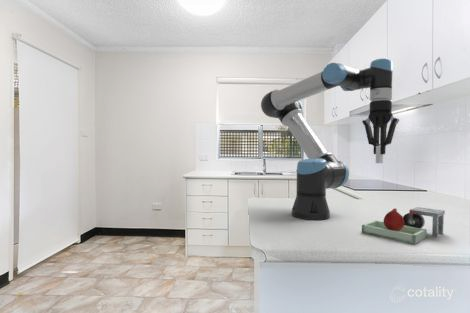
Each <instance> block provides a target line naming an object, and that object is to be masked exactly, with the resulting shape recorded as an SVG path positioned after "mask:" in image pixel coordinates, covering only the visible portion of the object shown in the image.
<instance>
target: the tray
mask: <svg viewBox="0 0 470 313" xmlns="http://www.w3.org/2000/svg"><path fill="white" fill-rule="evenodd" d="M361 233H362V234H367V235H372V236H376V237H381V238H385V239H388V240H393V241H399V242H402V243H408V244H413V245H416V244H418V243H420V242H422V241H424V240H425V239H427V233H428V232H427V229H425V228H415V227H410V226H404V227H403V228H402V229H401V230H399V231H393V230H388V229H387V228H386V227H385V225H384V221H382V220H372V221H370V222H366V223H363V224H362V225H361ZM424 238H425V239H424ZM419 241H420V242H419Z"/></svg>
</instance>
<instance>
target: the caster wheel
mask: <svg viewBox="0 0 470 313" xmlns="http://www.w3.org/2000/svg"><path fill="white" fill-rule="evenodd" d="M445 212H446V211H445V210H444V209H437V208H436V209H435V208H429V207H421V206H417V207H414V208H410V209H409V212H408V213H406V214H404V215H402V216H403V219H404V226H410V227H415V228H421V229H423V228H424V226H425V218H424V217H425V216H427V217H431V218H432V230H431V231H432V232H431V234H432V237H433V236H435V237H434V238H438V237H439V235H438V234H444V222H445V221H444V217H445V215H446V214H445ZM437 236H438V237H437Z"/></svg>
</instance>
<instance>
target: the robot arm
mask: <svg viewBox="0 0 470 313" xmlns="http://www.w3.org/2000/svg"><path fill="white" fill-rule="evenodd" d="M393 73H394V71H393V60H392V59H390V58H378V59H377V58H376V59H374V60H371V62H370V64H369V67H366V68H363V69H355V68H352V67H350V66H346V65H344V64H342V63H339V62H337V63H336V62H330V63H328V64H326V66H325V67H324V68H323V70H322V71H320V72H318V73H316V74H313V75H311V76H309V77H307V78H304V79H302V80H300V81H297V82H296V83H293V84H290V85H288V86H286V87H283V88H281V89H274V90H271V91H269V92H268V93H266V94H265V95H264V96H263V97H262V99H261V102H260V108H261V111H262V112H263V114H264V115H265V116H267V117H269V118H275V119H278V120H279V122H280V123H281V124H282V125H283V126H284V127H288V130H289V131H290V132H291V134H292V135H293V137H294V138H295V140H296V142H297V143H298V145H299V146H300V148H301V150H302V151H303V152H304V154H305V155H306V157H307V158H305V159H301V160H299V161H298V162H297V165H296V196H295V199H294V201H293V202H294V203H293V206H292V208H291V215H292V216H293V217H294V218H298V219H302V220H303V219H304V220H313V221H314V220H317V221H318V220H320V221H321V220H328V219H329V218H331V215H330V214H331V211H330V208H329V205H328V201H327V198H326V196H327V195H326V194H327V189H328V190H329V189H338V188H340V187H343V186H344V185H345V184H346V183H347V182H348V180H349V176H350V170H349V167H348V165H347V164H346V163H344V162H343V161H340V160H338V159H337V157H336V156H335V154H334V153H332V152H328V151H327V149H326V148H325V147H324V146H323V144H322V142H321V140H319V138H318V137H317V135H316V134H315V133H314V131H313V130H312V128H311V127H310V126H309V124H308V123H307V121H306V120H305V118H304V117H303V115H304V112H303V104H302V102H301V100H304V99H307V98H309V97H311V96H315V95H317V94H320V93H322V92H325V91H328V90H331V89H333V88H335V87H340V88H341V89H342V91H344V92H350V91H351V92H353V91H357V90H362V89H368V88H369V101H370V102H369V115H368V118H366V119H365V120H364V119H363V120H362V122H361V123H362V124H363V126H364V128H365V133H366V138H367V142H368V144H369V145H372V146H373V155H375V164H383V163H384V162H383V161H384V160H383V159H384V155H386V149H387V148H386V147H387V146H388V145H391V144H392V142H393V138H394V135H395V134H394V133H395V131H396V128H397V124H398V123H399V122H400V119H399V118H398V117H397V118H396V117H395V116H394V115H393V113H392V108H393V107H392V106H393V102H392V100H393ZM389 122H390V124H389V128H388V123H389ZM371 124H372V126H371ZM372 128H373V131H372ZM387 128H388V131H387Z"/></svg>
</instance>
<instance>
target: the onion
mask: <svg viewBox="0 0 470 313" xmlns="http://www.w3.org/2000/svg"><path fill="white" fill-rule="evenodd" d="M402 216H403V215H401V213H399V212H398V210H397V208H392V210H390V211H388V212H387V213H386V214H385V216H384V218H383V222H384V225H385V227H386V228H387V229H388V230H393V231H399V230H401V229H402V228H403V227H404V219H403V217H402Z"/></svg>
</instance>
